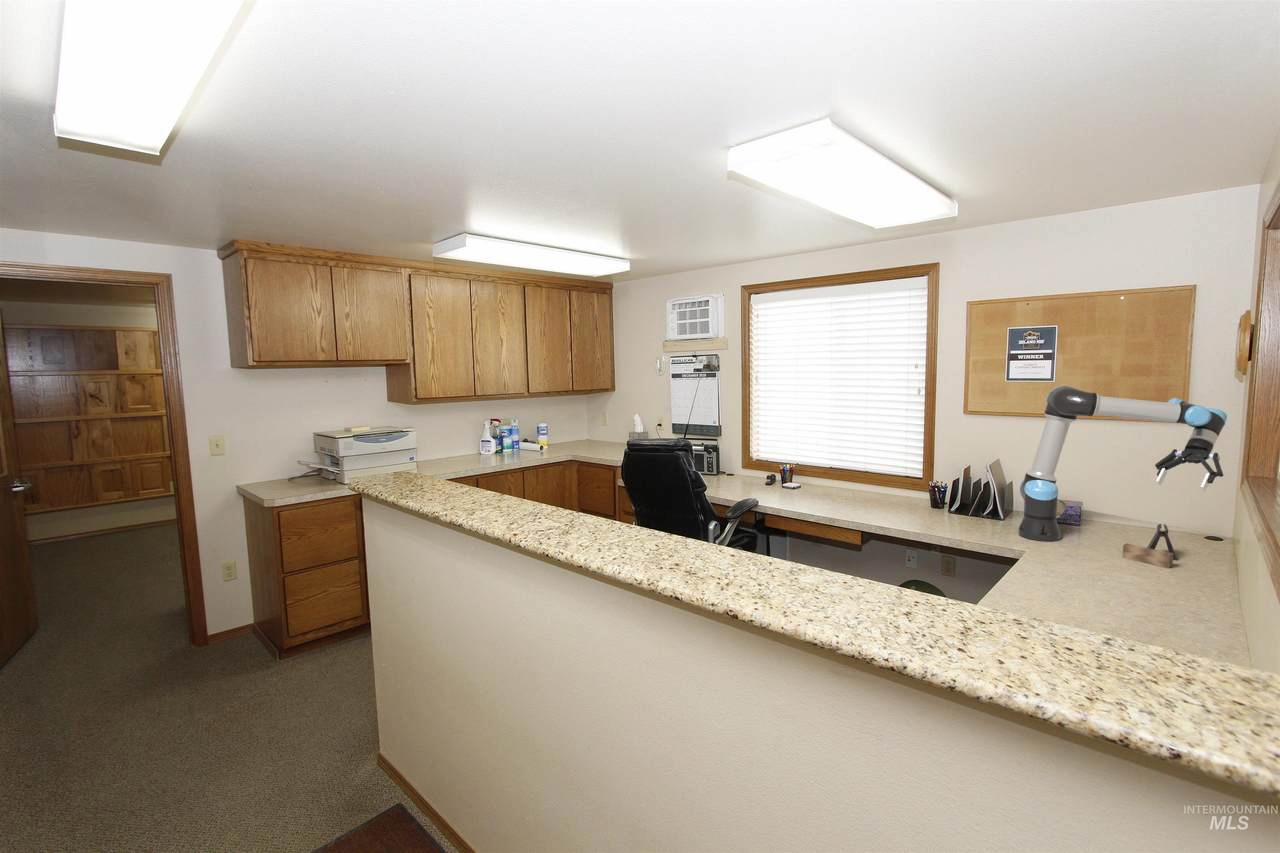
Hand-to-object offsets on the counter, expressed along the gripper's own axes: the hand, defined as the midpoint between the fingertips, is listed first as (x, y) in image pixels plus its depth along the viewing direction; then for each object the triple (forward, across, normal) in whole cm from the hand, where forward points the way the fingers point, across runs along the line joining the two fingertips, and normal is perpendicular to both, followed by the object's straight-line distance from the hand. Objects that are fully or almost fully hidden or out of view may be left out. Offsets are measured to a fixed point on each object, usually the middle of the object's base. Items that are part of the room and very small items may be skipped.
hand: (1179, 486), depth 225 cm
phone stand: (+26, +1, -11) cm, 28 cm away
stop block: (+34, 0, -2) cm, 34 cm away
